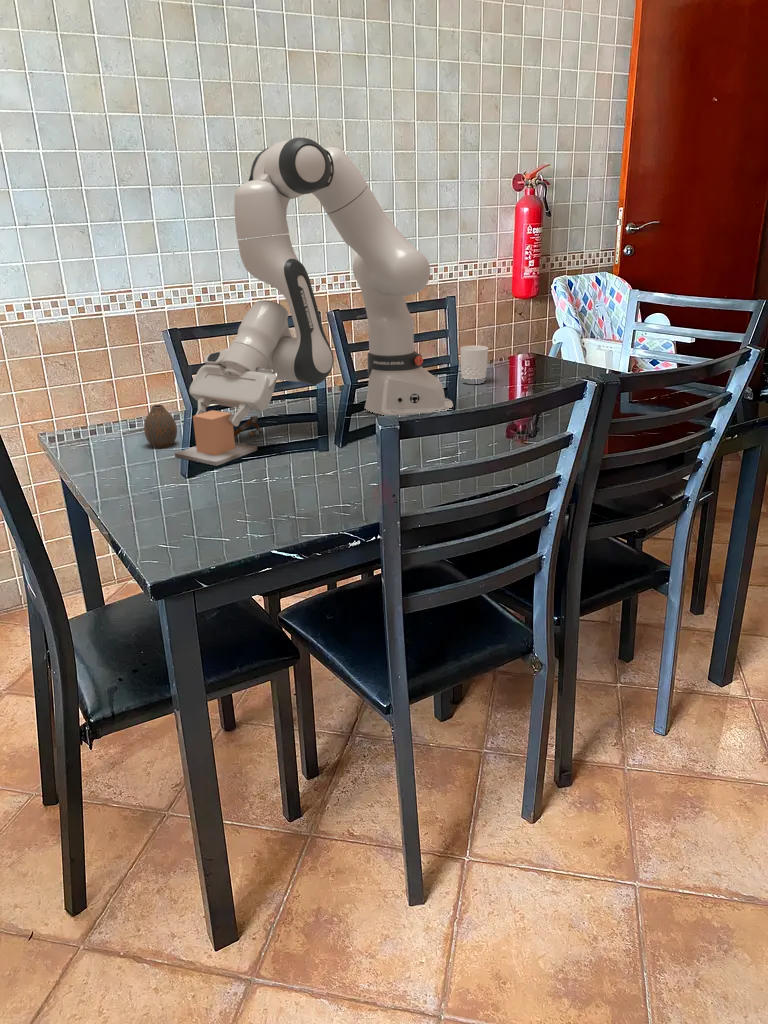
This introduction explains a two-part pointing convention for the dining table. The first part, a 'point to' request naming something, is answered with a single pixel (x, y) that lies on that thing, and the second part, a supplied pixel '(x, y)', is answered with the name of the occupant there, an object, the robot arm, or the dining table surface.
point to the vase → (160, 427)
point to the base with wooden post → (216, 459)
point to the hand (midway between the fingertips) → (215, 421)
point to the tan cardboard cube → (213, 432)
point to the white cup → (474, 362)
